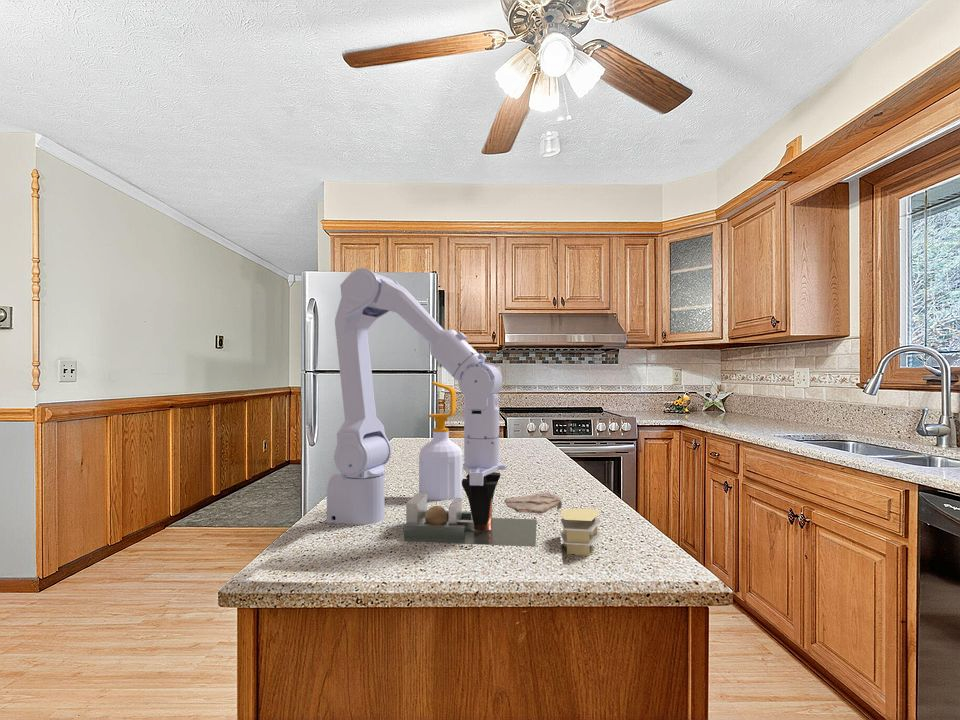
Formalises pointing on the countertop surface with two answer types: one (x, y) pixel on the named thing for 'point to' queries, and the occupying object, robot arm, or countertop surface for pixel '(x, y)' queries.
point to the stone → (534, 503)
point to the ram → (456, 514)
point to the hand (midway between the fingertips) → (481, 521)
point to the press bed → (500, 534)
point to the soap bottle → (441, 459)
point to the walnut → (436, 516)
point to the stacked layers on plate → (579, 530)
